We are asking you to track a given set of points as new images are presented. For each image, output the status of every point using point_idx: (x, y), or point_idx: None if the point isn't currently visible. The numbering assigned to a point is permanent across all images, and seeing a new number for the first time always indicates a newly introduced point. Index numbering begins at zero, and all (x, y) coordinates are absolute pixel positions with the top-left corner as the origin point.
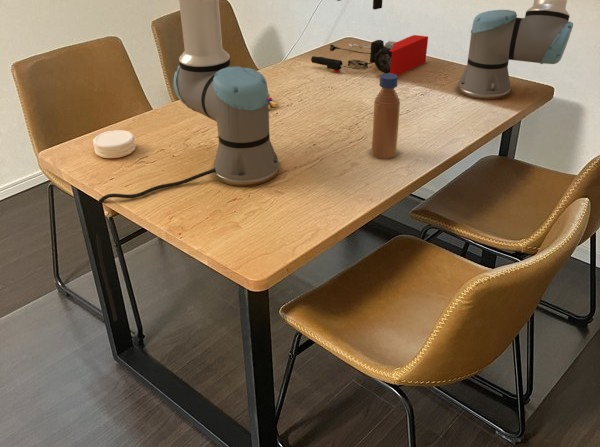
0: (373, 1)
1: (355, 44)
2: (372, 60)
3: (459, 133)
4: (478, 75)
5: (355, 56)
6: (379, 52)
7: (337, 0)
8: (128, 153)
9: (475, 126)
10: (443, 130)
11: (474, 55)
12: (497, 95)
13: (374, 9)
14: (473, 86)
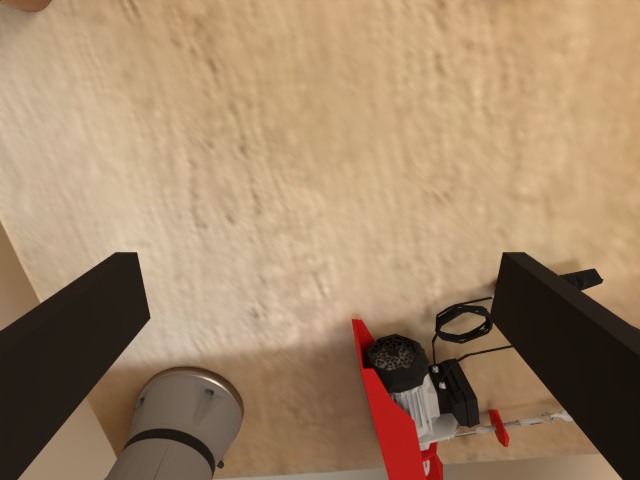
0: (100, 278)
1: (565, 416)
2: (450, 362)
3: (40, 211)
4: (157, 412)
5: (534, 384)
6: (414, 365)
7: (516, 252)
8: None
9: (55, 263)
10: (70, 198)
11: (159, 453)
12: (138, 397)
13: (119, 253)
14: (169, 387)
